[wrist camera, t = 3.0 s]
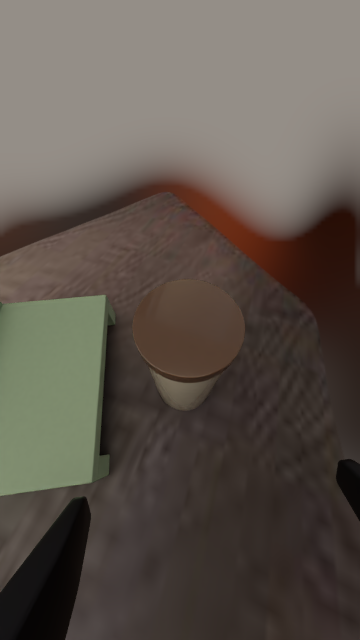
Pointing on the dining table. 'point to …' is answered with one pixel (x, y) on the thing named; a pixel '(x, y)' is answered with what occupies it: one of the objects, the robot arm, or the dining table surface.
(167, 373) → the canister
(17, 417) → the shelf
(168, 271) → the dining table surface
